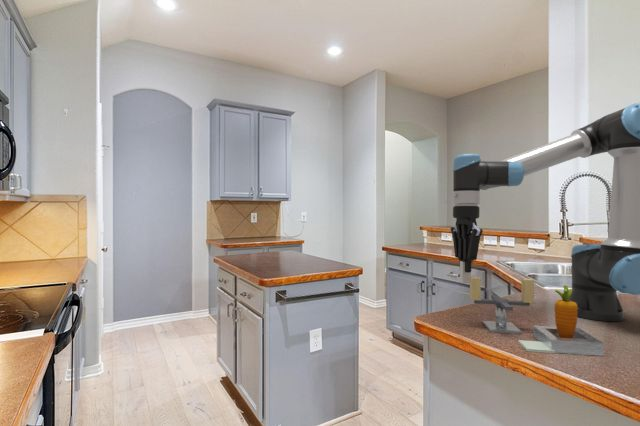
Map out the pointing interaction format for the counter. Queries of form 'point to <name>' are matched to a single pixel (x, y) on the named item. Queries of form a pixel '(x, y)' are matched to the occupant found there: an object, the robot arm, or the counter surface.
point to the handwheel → (526, 298)
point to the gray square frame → (569, 341)
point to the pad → (535, 346)
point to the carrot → (565, 314)
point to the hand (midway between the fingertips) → (465, 282)
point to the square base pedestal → (501, 323)
